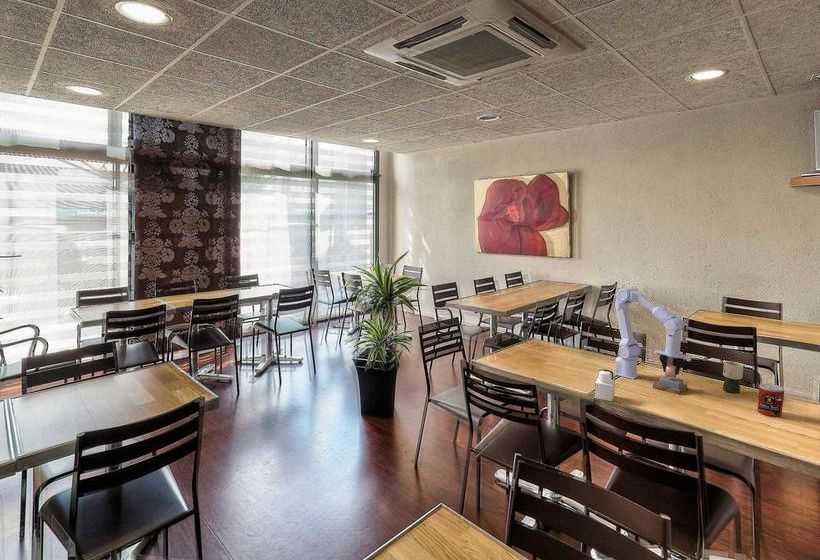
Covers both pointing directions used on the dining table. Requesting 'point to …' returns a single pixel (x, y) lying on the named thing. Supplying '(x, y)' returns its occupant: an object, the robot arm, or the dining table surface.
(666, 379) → the top slab
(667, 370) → the egg
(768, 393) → the canned food
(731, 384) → the character mug
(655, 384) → the base slab
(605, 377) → the medicine bottle
